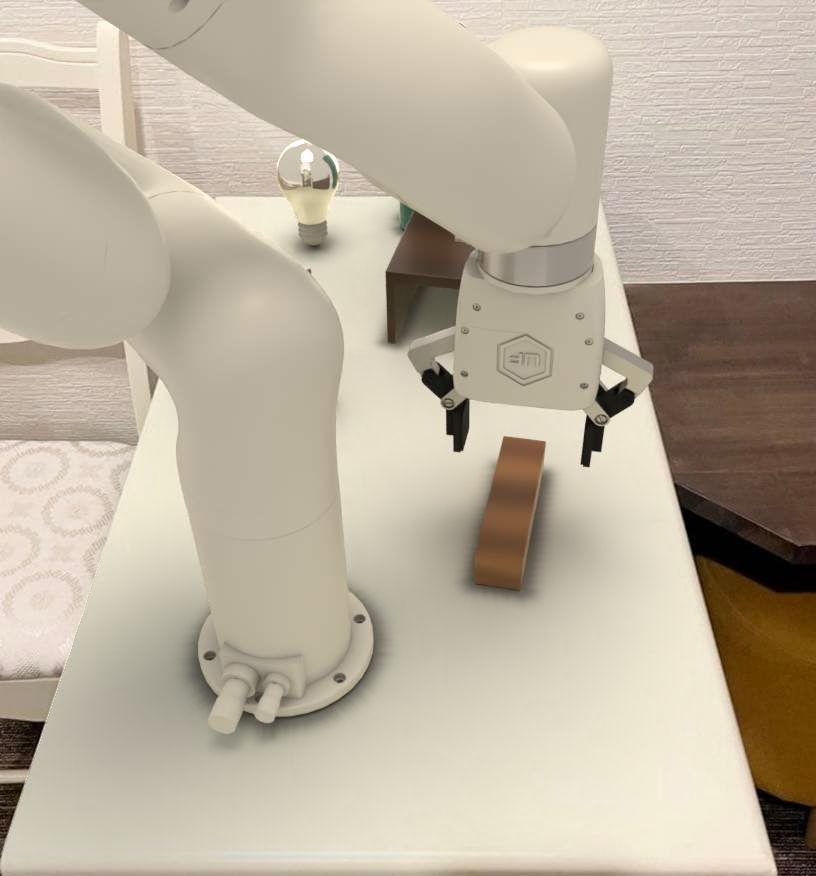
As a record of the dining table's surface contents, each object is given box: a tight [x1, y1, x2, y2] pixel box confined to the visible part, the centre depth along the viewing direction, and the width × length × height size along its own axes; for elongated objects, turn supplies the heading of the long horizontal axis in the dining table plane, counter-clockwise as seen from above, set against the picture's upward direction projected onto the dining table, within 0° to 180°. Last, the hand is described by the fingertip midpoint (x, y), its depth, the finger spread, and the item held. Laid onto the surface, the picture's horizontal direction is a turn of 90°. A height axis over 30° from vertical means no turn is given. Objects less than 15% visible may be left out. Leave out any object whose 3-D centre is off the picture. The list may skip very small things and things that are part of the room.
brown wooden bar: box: [473, 435, 547, 591], centre depth 79 cm, size 14×4×4 cm, turn 167°
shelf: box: [385, 210, 473, 344], centre depth 102 cm, size 18×12×10 cm, turn 168°
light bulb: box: [276, 139, 341, 248], centre depth 110 cm, size 7×7×12 cm
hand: (523, 448), depth 76 cm, fingers open, 9 cm apart
